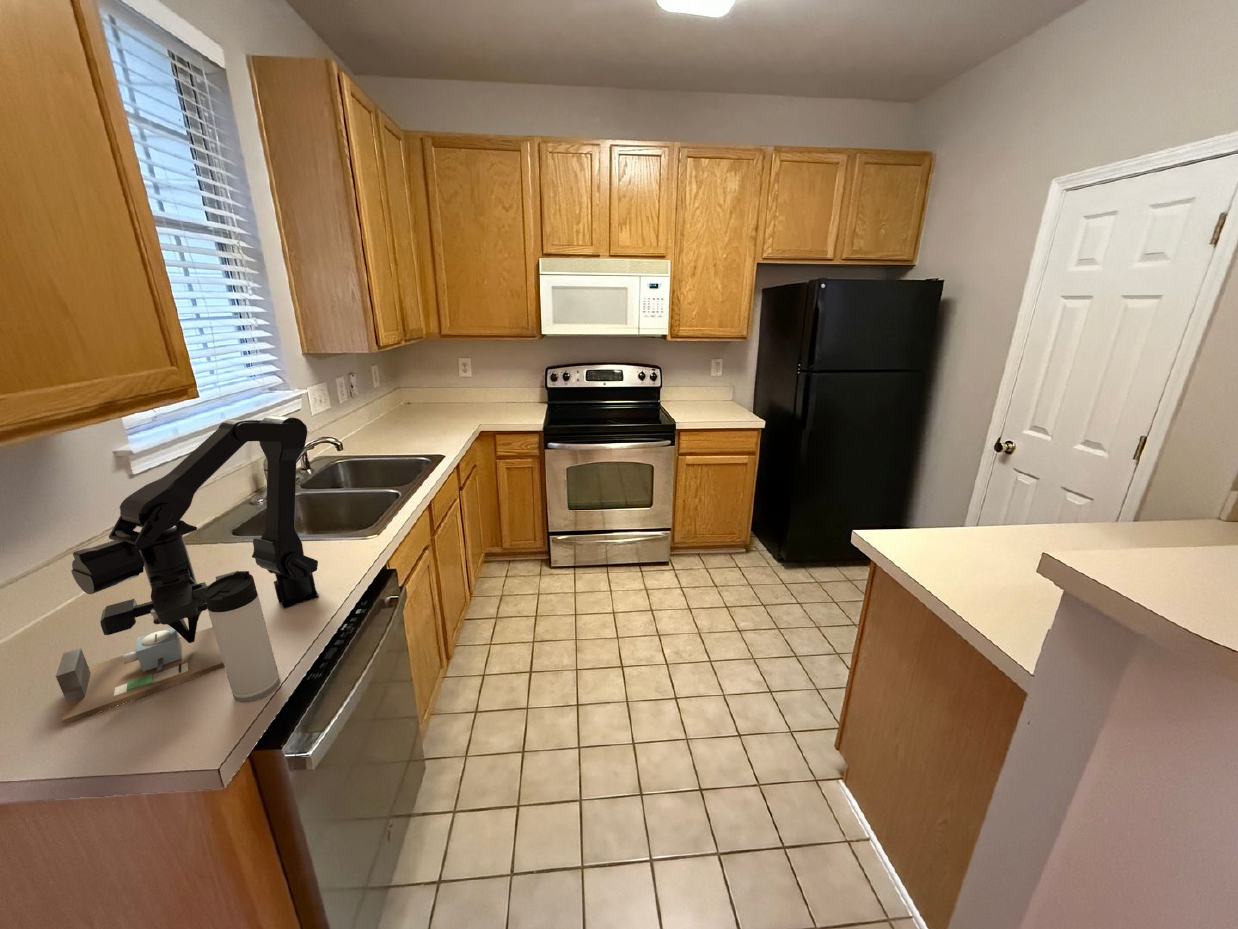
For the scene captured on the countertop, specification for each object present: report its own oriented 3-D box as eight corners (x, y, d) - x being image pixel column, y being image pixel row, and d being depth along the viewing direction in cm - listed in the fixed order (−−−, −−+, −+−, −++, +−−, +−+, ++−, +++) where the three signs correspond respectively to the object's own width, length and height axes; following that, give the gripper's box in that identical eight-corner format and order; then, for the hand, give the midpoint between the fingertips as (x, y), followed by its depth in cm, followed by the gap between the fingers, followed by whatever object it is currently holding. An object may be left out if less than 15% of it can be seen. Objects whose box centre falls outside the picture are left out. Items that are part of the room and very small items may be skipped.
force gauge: (181, 644, 89) (174, 624, 88) (181, 670, 83) (174, 648, 82) (128, 661, 85) (120, 640, 84) (124, 690, 79) (116, 667, 77)
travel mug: (289, 673, 84) (264, 569, 78) (264, 703, 78) (234, 592, 72) (252, 674, 84) (223, 570, 78) (224, 704, 77) (190, 593, 71)
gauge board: (237, 623, 97) (230, 597, 96) (244, 660, 87) (236, 631, 85) (77, 675, 84) (65, 645, 82) (64, 725, 74) (50, 692, 72)
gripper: (82, 604, 72) (115, 691, 76) (240, 563, 84) (260, 641, 88) (91, 575, 80) (120, 656, 84) (234, 541, 92) (253, 613, 96)
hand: (191, 641), depth 88 cm, fingers closed
